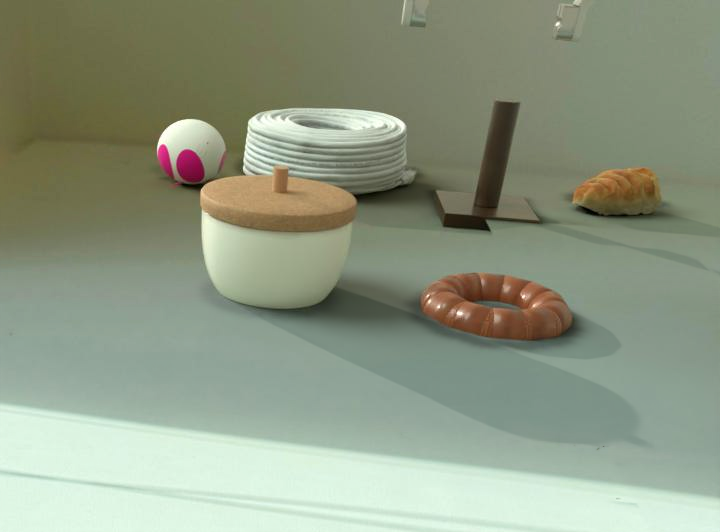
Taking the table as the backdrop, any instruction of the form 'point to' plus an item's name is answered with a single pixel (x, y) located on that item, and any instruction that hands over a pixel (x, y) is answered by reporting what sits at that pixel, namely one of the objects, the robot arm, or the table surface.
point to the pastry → (620, 192)
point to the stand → (488, 180)
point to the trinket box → (275, 238)
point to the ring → (534, 321)
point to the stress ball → (191, 151)
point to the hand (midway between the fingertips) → (488, 33)
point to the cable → (330, 147)
